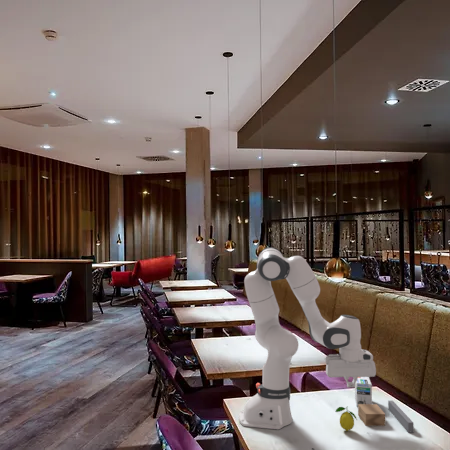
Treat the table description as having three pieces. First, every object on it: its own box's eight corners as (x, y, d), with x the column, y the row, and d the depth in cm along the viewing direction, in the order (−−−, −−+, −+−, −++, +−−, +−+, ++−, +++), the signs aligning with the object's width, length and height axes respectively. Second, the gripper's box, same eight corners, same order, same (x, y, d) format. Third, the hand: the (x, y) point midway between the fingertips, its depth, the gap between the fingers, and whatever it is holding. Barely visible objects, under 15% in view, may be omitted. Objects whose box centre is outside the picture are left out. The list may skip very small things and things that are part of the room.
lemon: (335, 428, 178) (335, 403, 178) (347, 426, 180) (347, 401, 180) (345, 436, 171) (345, 410, 171) (357, 433, 173) (358, 408, 173)
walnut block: (365, 426, 180) (365, 414, 180) (358, 415, 190) (358, 404, 190) (385, 426, 180) (385, 414, 180) (376, 415, 190) (376, 404, 190)
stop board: (408, 432, 174) (408, 422, 174) (388, 409, 196) (388, 400, 196) (413, 432, 174) (413, 422, 174) (392, 409, 196) (392, 400, 196)
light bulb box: (372, 408, 197) (372, 384, 198) (356, 407, 199) (356, 383, 199) (369, 399, 208) (369, 376, 208) (354, 398, 209) (354, 375, 209)
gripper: (327, 356, 183) (327, 390, 183) (376, 355, 182) (377, 389, 182) (323, 352, 189) (324, 384, 189) (372, 351, 189) (372, 383, 189)
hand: (350, 386), depth 186 cm, fingers closed
